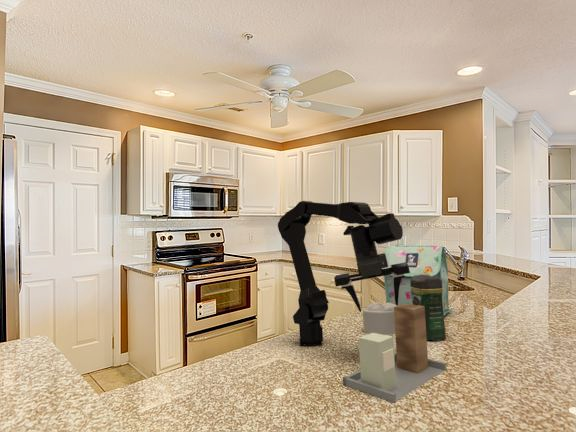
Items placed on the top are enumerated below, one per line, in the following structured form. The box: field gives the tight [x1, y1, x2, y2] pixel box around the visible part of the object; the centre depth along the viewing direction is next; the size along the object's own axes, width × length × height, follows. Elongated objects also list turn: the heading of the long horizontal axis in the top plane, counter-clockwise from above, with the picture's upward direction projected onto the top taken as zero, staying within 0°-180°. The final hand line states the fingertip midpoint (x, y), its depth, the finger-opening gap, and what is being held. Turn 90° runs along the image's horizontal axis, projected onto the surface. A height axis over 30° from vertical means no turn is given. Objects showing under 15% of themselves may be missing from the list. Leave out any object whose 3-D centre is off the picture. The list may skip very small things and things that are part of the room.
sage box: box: [358, 333, 396, 391], centre depth 74 cm, size 5×5×10 cm
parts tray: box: [342, 352, 447, 404], centre depth 78 cm, size 12×22×2 cm, turn 132°
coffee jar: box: [410, 275, 447, 342], centre depth 109 cm, size 10×8×19 cm
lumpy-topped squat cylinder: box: [362, 301, 396, 336], centre depth 118 cm, size 10×13×9 cm
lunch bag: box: [382, 244, 451, 317], centre depth 141 cm, size 23×16×27 cm
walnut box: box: [394, 304, 429, 374], centre depth 84 cm, size 5×5×14 cm
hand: (378, 308), depth 91 cm, fingers open, 9 cm apart
